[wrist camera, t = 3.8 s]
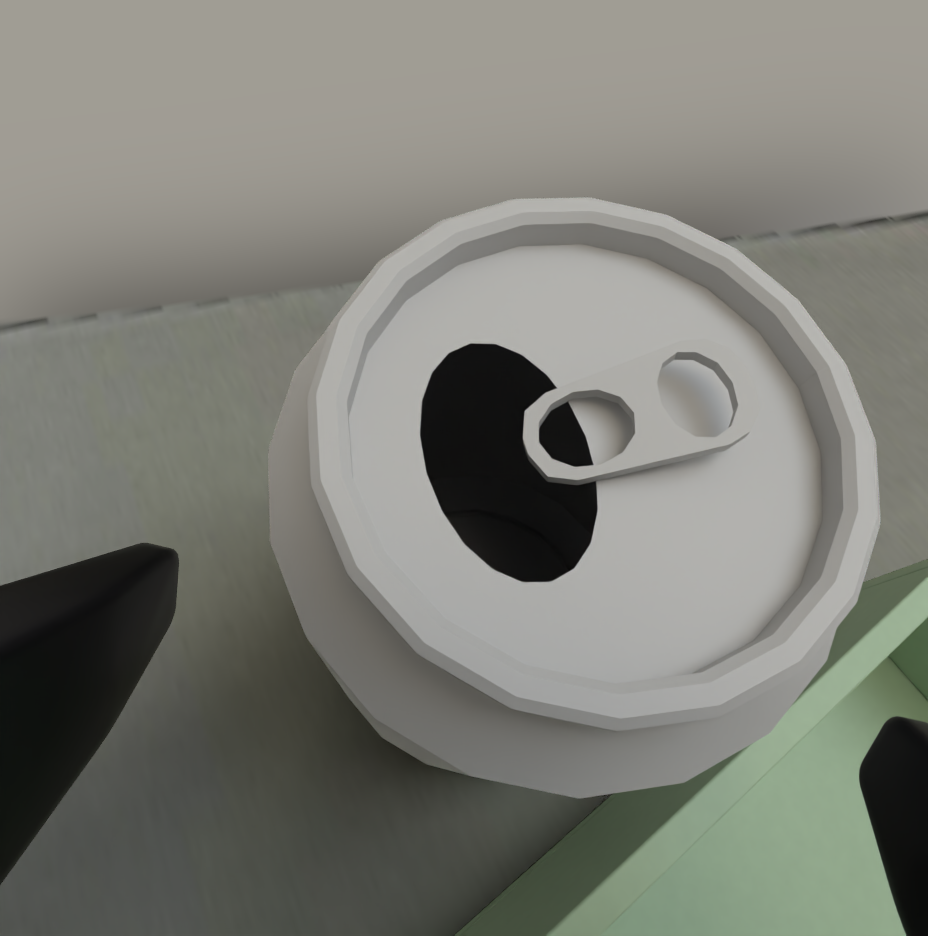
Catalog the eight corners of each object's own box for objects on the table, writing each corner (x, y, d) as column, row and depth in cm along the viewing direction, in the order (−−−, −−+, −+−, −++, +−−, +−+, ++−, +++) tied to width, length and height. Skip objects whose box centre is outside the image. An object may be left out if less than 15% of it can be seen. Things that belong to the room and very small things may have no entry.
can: (304, 520, 19) (185, 185, 8) (559, 460, 20) (767, 108, 9) (367, 815, 16) (323, 948, 5) (654, 721, 18) (1104, 668, 7)
